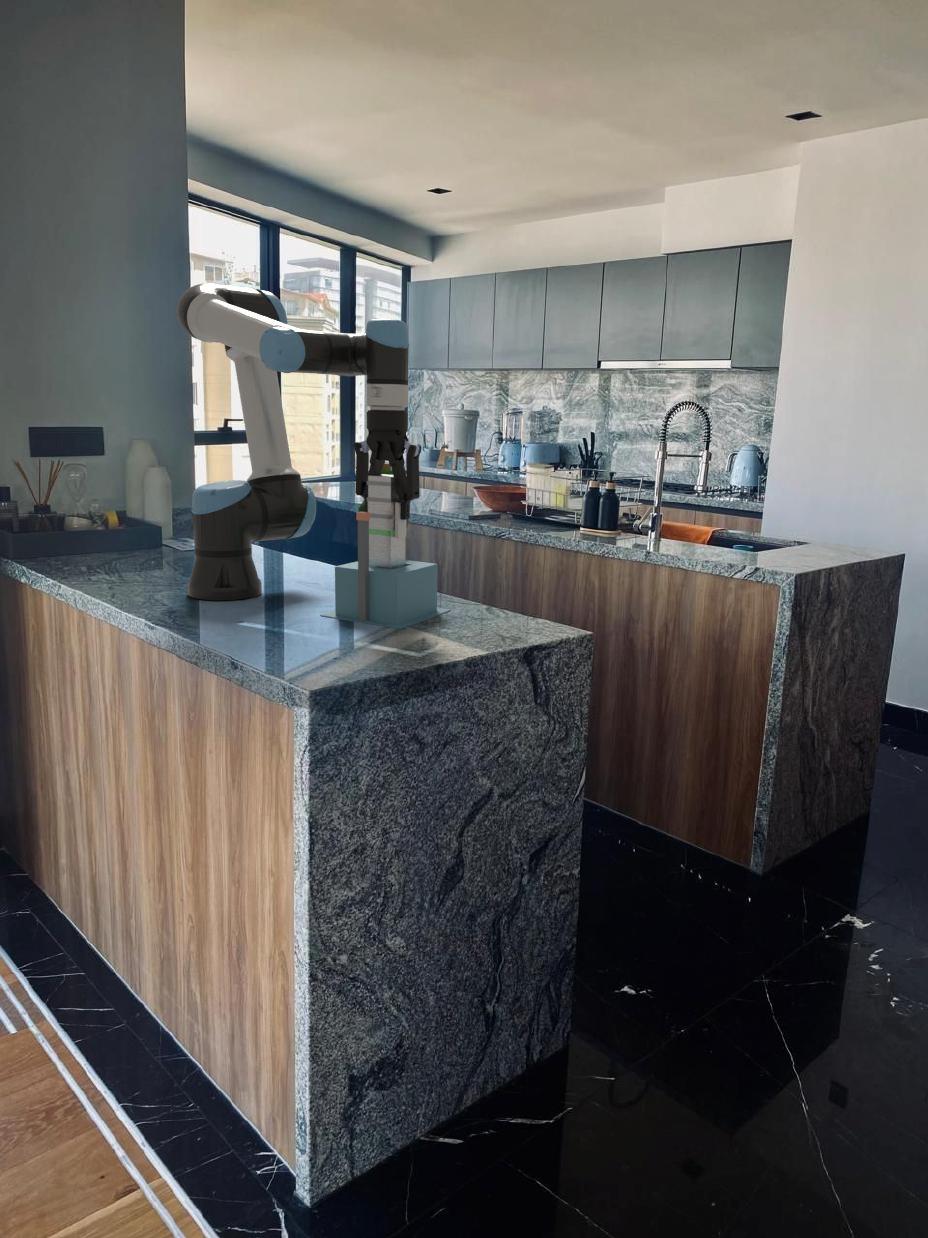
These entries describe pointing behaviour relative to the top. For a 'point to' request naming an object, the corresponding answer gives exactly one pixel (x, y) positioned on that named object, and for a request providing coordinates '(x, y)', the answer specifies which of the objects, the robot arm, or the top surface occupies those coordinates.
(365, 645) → the top surface
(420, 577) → the stand base
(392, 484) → the column
